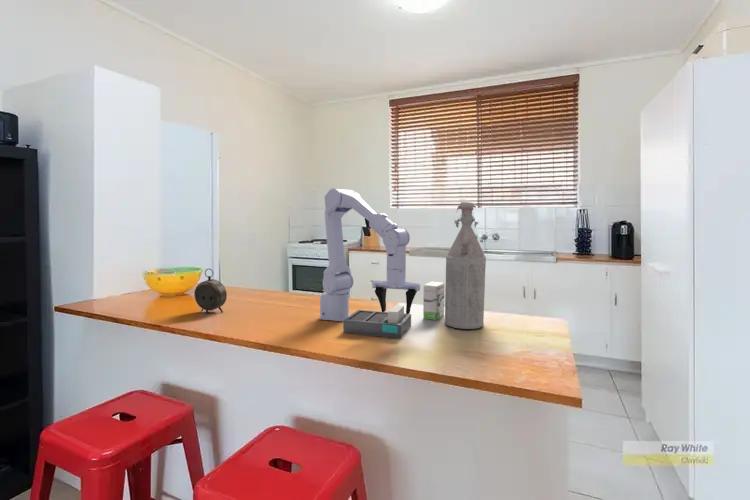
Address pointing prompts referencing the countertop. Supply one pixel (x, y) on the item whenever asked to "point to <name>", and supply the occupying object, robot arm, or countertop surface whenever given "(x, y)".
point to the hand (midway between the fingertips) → (395, 312)
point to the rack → (375, 324)
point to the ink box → (433, 300)
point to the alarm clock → (210, 294)
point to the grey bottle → (465, 276)
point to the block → (396, 314)
